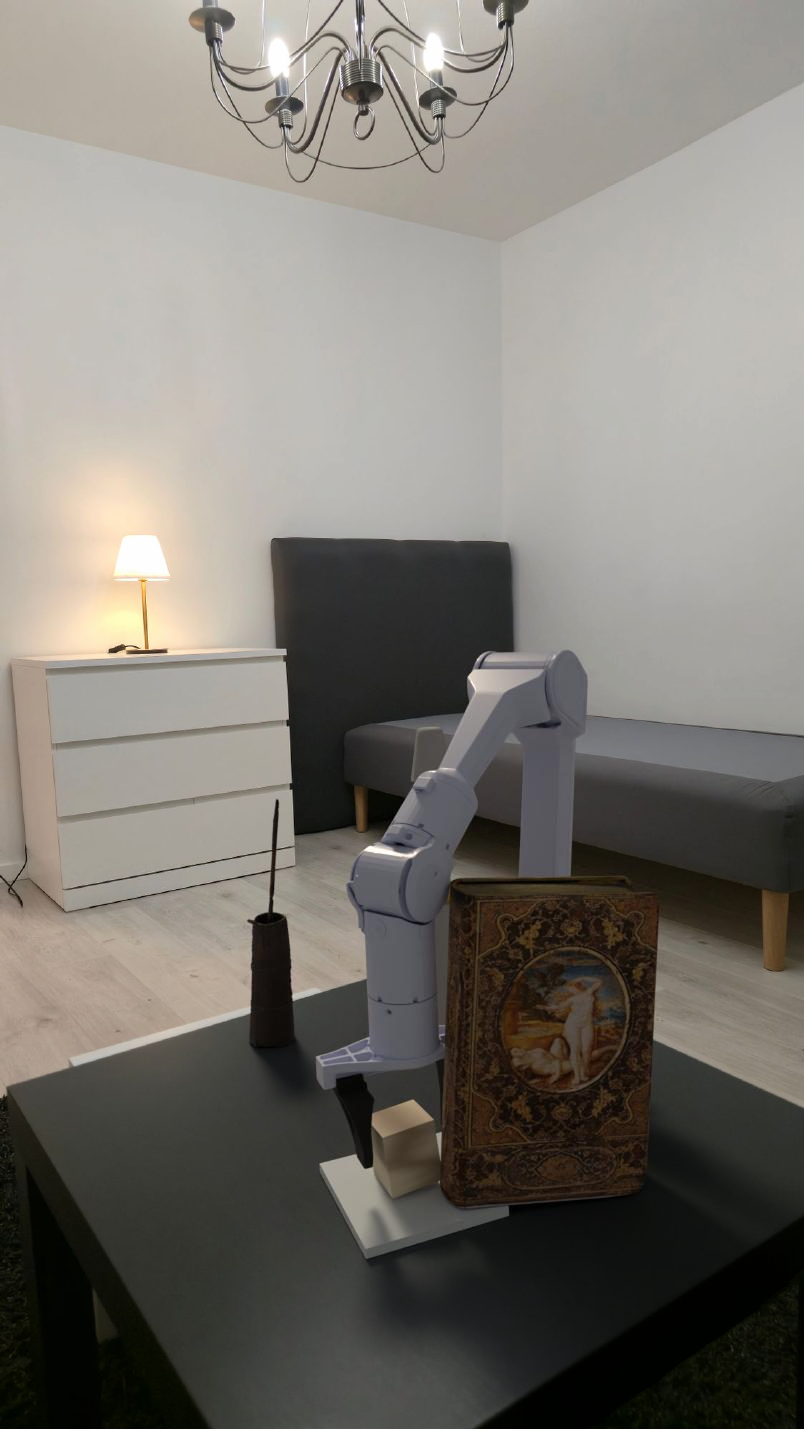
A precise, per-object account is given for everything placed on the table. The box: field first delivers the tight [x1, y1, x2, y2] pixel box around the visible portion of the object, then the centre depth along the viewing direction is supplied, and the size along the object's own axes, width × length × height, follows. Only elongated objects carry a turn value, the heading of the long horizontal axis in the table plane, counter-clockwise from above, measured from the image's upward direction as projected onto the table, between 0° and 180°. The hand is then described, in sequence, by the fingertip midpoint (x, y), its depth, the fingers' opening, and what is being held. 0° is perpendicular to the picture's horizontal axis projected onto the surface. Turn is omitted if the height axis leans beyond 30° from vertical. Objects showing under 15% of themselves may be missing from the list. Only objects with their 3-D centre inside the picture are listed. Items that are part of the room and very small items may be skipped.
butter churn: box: [246, 798, 296, 1048], centre depth 103 cm, size 9×10×28 cm
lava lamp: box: [410, 726, 452, 1025], centre depth 108 cm, size 9×9×35 cm
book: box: [440, 875, 660, 1209], centre depth 74 cm, size 16×6×25 cm, turn 100°
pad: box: [319, 1131, 510, 1260], centre depth 75 cm, size 12×12×1 cm
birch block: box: [371, 1099, 441, 1198], centre depth 75 cm, size 4×4×5 cm
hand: (408, 1150), depth 75 cm, fingers open, 7 cm apart
